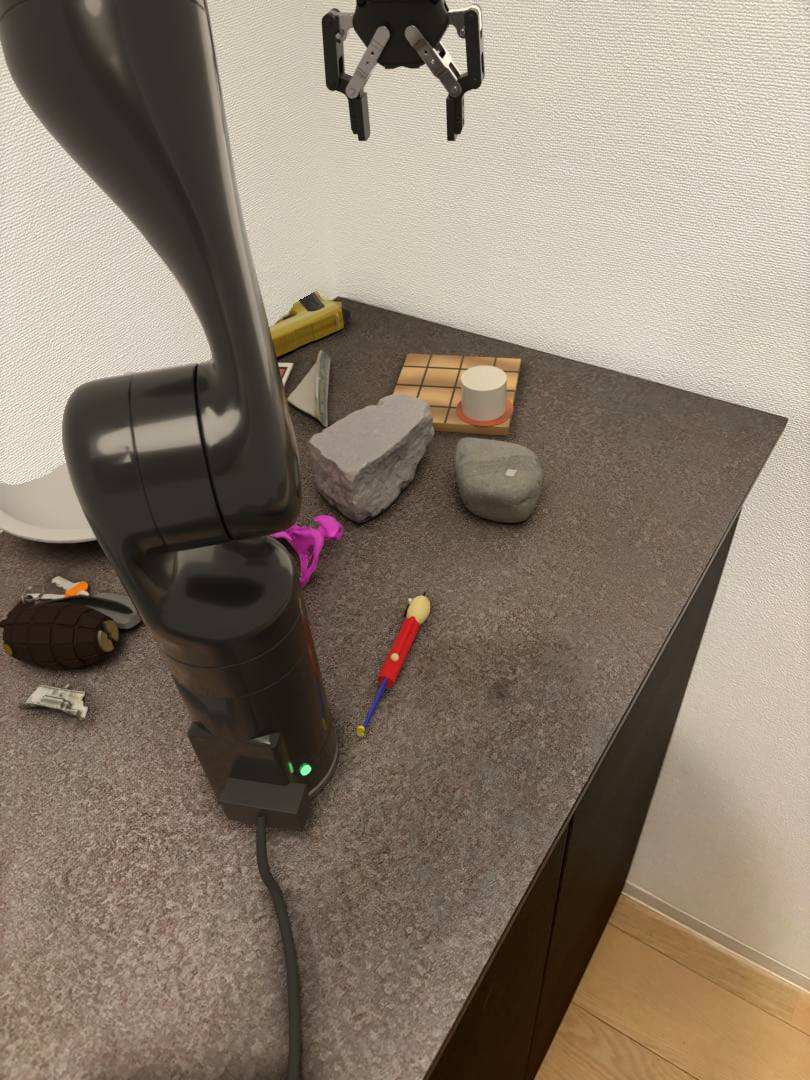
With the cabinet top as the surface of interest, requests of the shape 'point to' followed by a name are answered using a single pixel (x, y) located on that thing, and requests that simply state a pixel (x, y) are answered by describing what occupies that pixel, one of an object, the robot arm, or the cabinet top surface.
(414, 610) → the red screwdriver
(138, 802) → the cabinet top surface
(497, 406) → the cream short cylinder
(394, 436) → the decorative stone
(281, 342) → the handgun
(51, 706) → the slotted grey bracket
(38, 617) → the hand grenade
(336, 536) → the pelvis
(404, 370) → the board
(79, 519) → the soup bowl
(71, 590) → the key chain
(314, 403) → the ceramic fragment
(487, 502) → the stone
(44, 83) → the robot arm
